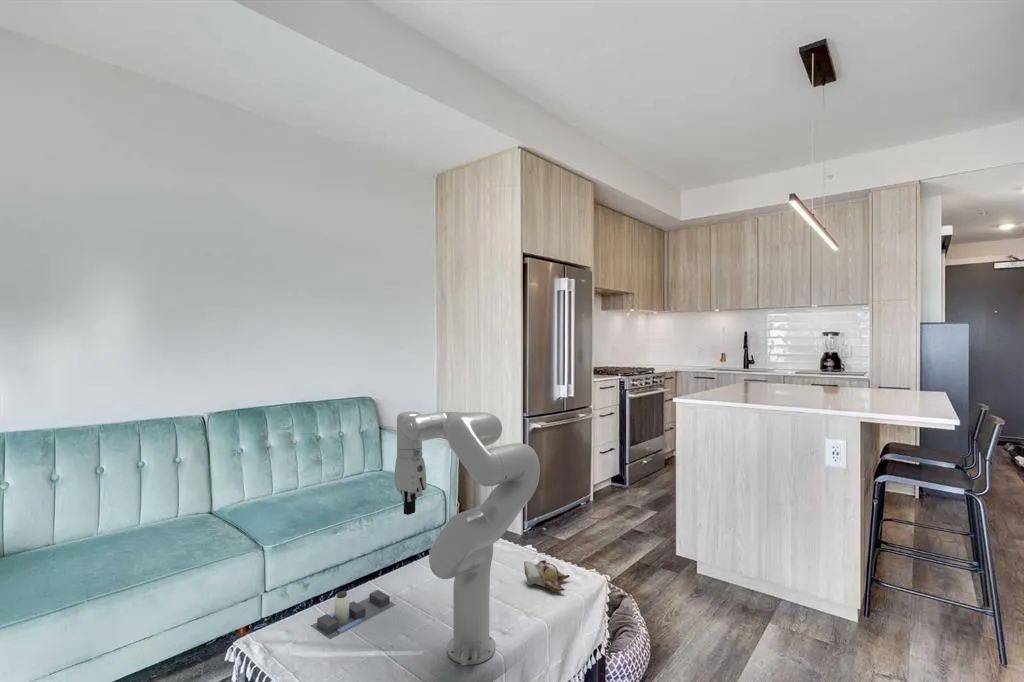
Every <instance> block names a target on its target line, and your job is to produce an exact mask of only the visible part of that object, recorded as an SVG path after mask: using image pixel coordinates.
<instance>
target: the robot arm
mask: <svg viewBox="0 0 1024 682" xmlns="http://www.w3.org/2000/svg"><path fill="white" fill-rule="evenodd" d="M502 433H503V424H502V422H501V420H500V418H499V417H498V416H496V415H495V414H492V413H489V412H483V411H482V412H480V411H478V412H471V411H470V412H460V411H439V412H438V411H437V412H430V413H423V414H421V413H420V412H418V411H403V412H400V413H398V414H397V416H396V459H395V464H394V466H395V467H394V486H395V488H396V491H397V492H398V493H400V494H401V499H402V501H403V515H406V516H409V515H413V514H414V513H416V501H417V500H418V498H421V497H424V496H423V495H424V494H423V491H426V490H427V470H426V465H425V459H424V457H423V441H428V440H429V441H430V440H434V439H441V438H445V440H447V441H448V444H449V445H450V448H451V449H452V451H453V452H454V454H455V455H456V456H457V458H458V460H460V462H461V464H462V465H463V466H464V468H465V469H466V471H467V472H468V474H469V475H470V477H471V478H472V479H473V480H474V481H475V482H476V483H477V484H479V485H480V486H483V487H493V486H495V487H494V488H493V489H492V490H491V492H490V493H489V495H488V496H487V498H486V499H485V500H484V502H482V503H481V504H480V505H477V506H476V507H473V508H470V509H468V510H464V511H462V512H460V513H457V514H455V515H453V516H452V517H451V518H450V519H449V520H448V521H447V522H446V524H445V525H444V527H443V528H442V529H441V531H440V532H439V534H438V535H437V537H436V538H435V540H434V542H433V543H432V545H431V548H430V550H429V554H428V562H429V568H430V571H431V572H432V573H433V575H434V576H436V577H437V578H439V579H441V580H450V579H453V578H454V580H453V588H452V589H453V593H452V594H453V596H452V597H453V599H452V600H453V601H452V602H453V603H452V604H453V622H452V623H453V624H452V625H453V627H452V630H453V632H452V633H453V635H452V636H453V637H452V638H451V639H450V640H449V641H448V643H447V648H446V649H447V654H448V656H449V658H450V659H451V661H454V662H455V663H458V664H460V665H461V666H467V665H470V666H471V665H477V664H481V663H484V662H486V661H487V660H489V659H490V658H492V656H493V655H494V654H495V652H496V642H495V640H494V638H493V637H492V636H490V590H491V589H490V583H491V582H490V580H491V579H490V577H491V567H492V560H493V556H494V543H496V542H498V541H499V540H500V539H501V538H502V537H503V536H504V534H505V533H506V531H507V530H508V529H509V528H510V526H511V525H512V524H513V522H514V521H515V519H516V518H517V517H518V515H519V514H520V513H521V511H522V510H523V509H524V508H525V506H526V505H527V504H528V503H529V501H530V500H531V499H532V497H533V495H534V493H535V492H536V489H537V487H538V485H539V483H540V482H539V481H540V474H541V464H540V460H539V457H538V454H537V452H536V451H535V449H534V448H533V447H532V446H530V445H528V444H526V443H519V442H518V443H517V442H516V443H515V442H514V443H509V444H508V443H507V444H504V445H500V446H498V445H497V446H494V447H491V448H487V446H490V445H492V444H495V442H497V441H498V440H499V439H500V438H501V436H502Z"/></svg>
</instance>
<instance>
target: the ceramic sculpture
mask: <svg viewBox="0 0 1024 682" xmlns="http://www.w3.org/2000/svg"><path fill="white" fill-rule="evenodd" d="M523 564H524V565H523V568H524V575H525V578H526V581H527V585H529V586H532V585H534V584H536V585H539V586H541V587H544V588H547V589H549V590H550V591H552V592H563V591H565V588H563V587H562V585H561V583H560V582H558V581H564V580H566V579H568V578H570V575H569V574H564V573H563V572H560V571H559V570H558V567H557V566H556V565H555V564H553V563H549V562H547V561H546V560H545V559H544V560H540V561H538V562H537V563H533V562H531V561H525V560H524V562H523Z"/></svg>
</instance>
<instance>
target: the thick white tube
mask: <svg viewBox="0 0 1024 682" xmlns="http://www.w3.org/2000/svg"><path fill="white" fill-rule="evenodd" d="M349 603H350V593H349V592H347V591H346V590H340V591H338V592H337V593H336V594H335V596H334V603H333V604H334V605H333V607H334V612H333V613H334V619H336V620H337V621H339V625H344V624H346V623H348V622H349Z"/></svg>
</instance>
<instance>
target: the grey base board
mask: <svg viewBox="0 0 1024 682" xmlns="http://www.w3.org/2000/svg"><path fill="white" fill-rule="evenodd" d="M368 595H369V597H367V598H364V599H363V600H361V601H359V602H355V601H352V602H349V622H348V623H346V624H344V625H339V621H337V620H336V619H334V612H332V613H330V614H329V613H326V614H323V615H321V616H320V617H317V620H316V621H317V622H315V623H313V624H311V625H310V627H311V628H313V629H315V630H316V631H318V632H319V633H321V635H323V636H325V638H327V639H329V640H331V639H334V638H336V637H338V636H339V635H341V634H342V633H345V632H347V631H349V630H351V629H353V628H355V627H356V626H358V625H360V624H362V623H365V622H367V620H369V619H371V618H373V617H376V616H378V615H379V614H381V613H383V612H385V611H387V610H389V609H391V608H393V607H394V606H396V605H397V604H395V603H394V602H392V601H391V598H390V595H388V594H387V593H384V592H382V591H381V590H379V589H376V590H374V591H372V592H370V593H369V594H368Z"/></svg>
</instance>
